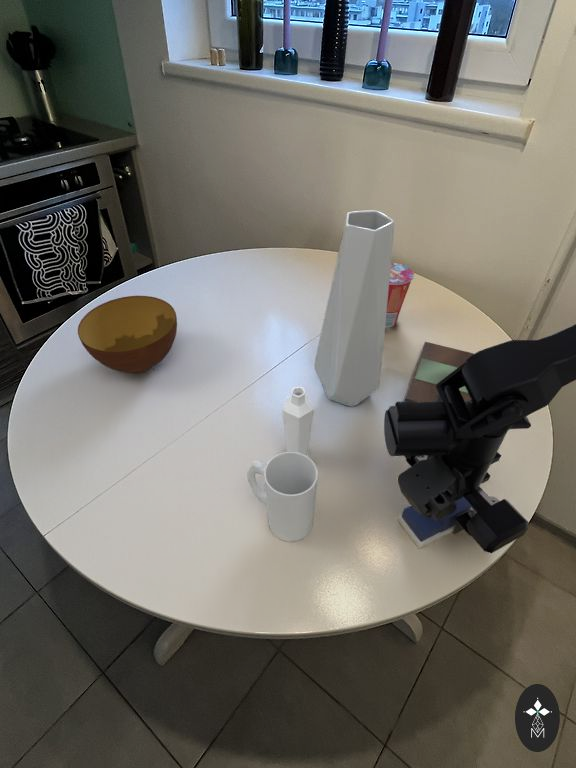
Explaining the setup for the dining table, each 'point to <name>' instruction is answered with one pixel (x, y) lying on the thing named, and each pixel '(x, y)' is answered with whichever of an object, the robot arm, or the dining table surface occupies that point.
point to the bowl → (129, 332)
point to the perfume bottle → (297, 420)
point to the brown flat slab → (435, 372)
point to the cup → (397, 291)
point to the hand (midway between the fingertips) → (440, 513)
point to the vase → (356, 309)
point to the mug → (287, 493)
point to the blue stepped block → (430, 523)
